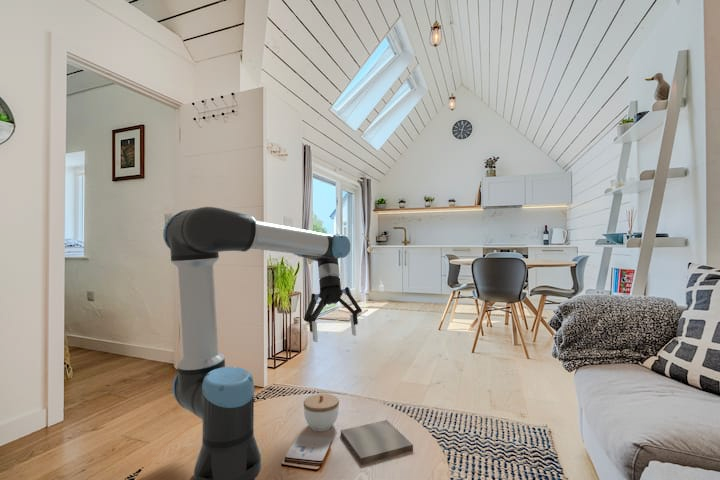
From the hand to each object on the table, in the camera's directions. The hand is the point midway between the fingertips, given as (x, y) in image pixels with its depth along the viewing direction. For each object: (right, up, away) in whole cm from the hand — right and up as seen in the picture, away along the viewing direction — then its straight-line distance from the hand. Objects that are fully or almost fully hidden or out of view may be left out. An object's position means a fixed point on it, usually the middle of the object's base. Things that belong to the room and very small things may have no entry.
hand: (334, 338), depth 116 cm
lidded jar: (-3, -24, -10) cm, 26 cm away
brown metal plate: (+13, -23, -20) cm, 33 cm away
